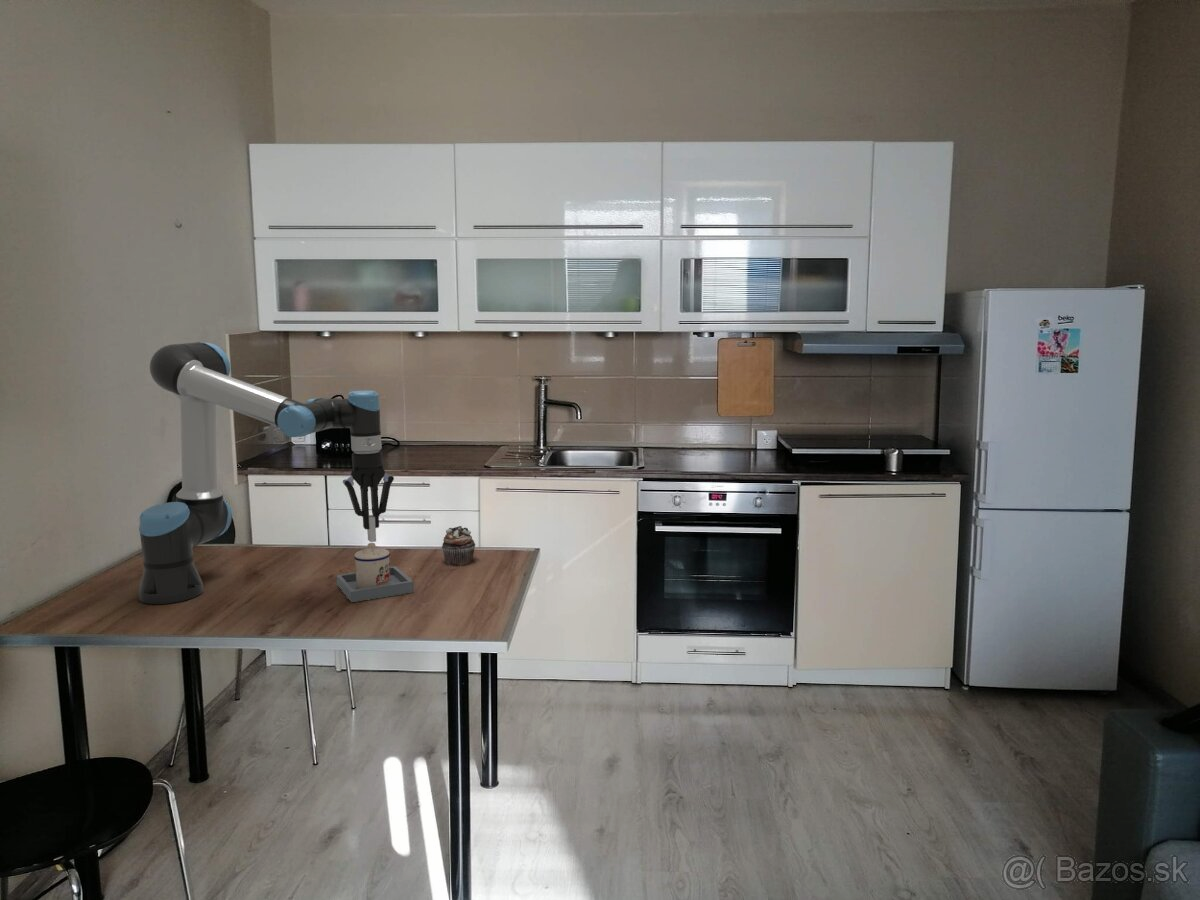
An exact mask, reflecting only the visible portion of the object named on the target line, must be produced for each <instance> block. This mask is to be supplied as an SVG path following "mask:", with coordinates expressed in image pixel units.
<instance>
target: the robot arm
mask: <svg viewBox="0 0 1200 900" xmlns="http://www.w3.org/2000/svg"><path fill="white" fill-rule="evenodd" d="M149 373H150V376H151V378H152V380H153V381H154V382H155V383H156V384H157V386H159V387H160V388H162V389H163V390H166V391H168V392H170V393H172V394H173V395H174V396H176V398H178V399H179V402H180V403H179V406H180V437H181V438H180V443H181V447H180V448H181V454H180V455H181V487H182V488H181V489H180V490H179V491H178V492H177V493H176V494H175V497H176V498H175V501H171V502H163V503H161V504H155V505H152V506H150V507H148V508H145V509H144V510H143V511H142V512H141V513H140V516H139V527H138V530H139V535H140V543H141V544H140V545H141V553H142V561H143V573H142V577H141V581H140V585H139V589H138V599H139V601H140V602H141V603H144V604H149V605H164V604H165V605H166V604H175V603H180V602H184V601H187V600H191V599H193V598H196V597H198V596H200V595H202V594H203V592H204V583H203V580H202V578H201V576H200V574H199V571H198V569H197V568H196V565H195V563H194V552H193V548H194V547H197V546H200V545H202V544H204V543H207V542H211V541H213V540H215V539H217V538H219V537H220V536H221V535H224V533H226V532H227V531H228V529H229V527H230V525H231V523H232V517H233V514H232V513H233V512H232V510H231V506H230V504H228V502H227V500H226V499H225V498H224V494H223V493H224V492H223V491H222V490H220V489H219V488H218V483H217V481H218V480H217V472H218V471H217V407H216V405H218V406H220V407H222V408H225V409H229V410H231V411H233V412H237V413H239V414H242V415H244V416H247V417H250V418H253V419H255V420H258V421H261V422H263V423H267V424H268V425H272V426H274V427H278V429H279V431H280V432H281V433H282V434H283V435H284V436H286V437H290V438H302V437H306V436H308V435H310V434H314V433H317V432H322V431H324V430H329V429H349V431H350V443H351V444H350V446H351V447H350V448H351V451H352V454H351V462H352V471H351V473H350V476H349V477H348V478H347V479H343V480H342V484H343V485H344V486H345V487H346V489H347V491H348V494H349V498H350V502H351V503H352V507H353V510H354V514H356V515H357V516H358V517H362V527H363V528H364V530H367V531H366V532H367V541H369V542H370V543H375V542H377V531H376V529H378V528H379V527H380V518H379V517H380V515H382V514H384V513H386V511H387V505H388V500H389V496H390V489H391V485H392V484H393V482H394V479H395V477H394V476H392V475H391V474H388V473H386V471H385V469H384V466H383V464H384V463H383V452H382V451H381V450H382V448H383V447H382V446H383V445H382V433H381V407H380V399H379V394H378V392H377V391H375V390H366V389H365V390H353V391H350V392H349V393H348V397H347V398H324V397H319V398H309V399H308V400H306V402H305V403H303V402H300V401H298V400H295V399H293V398H292V399H291V398H289V397H287V396H283V395H281V394H278V393H276V392H274V391H271V390H268V389H264V388H262V387H259V386H256V385H253V384H252V383H248V382H247V381H243V380H240V379H237V378H236V377H231V376H230V373H231V363H230V359H229V358H228V355H227V354H226V352H224V351H223V350H222V348H221V347H219V346H218V345H216V344H214V343H212V342H211V343H210V342H201V341H195V342H186V343H175V344H173V343H172V344H167V345H164V346H162V347H161V348H159V349H157V351H156V352H154V353H153V355H152V357H151V359H150V362H149ZM354 481H355V482H354ZM381 481H383V485H382V489H381V494H380V500H379V492H378V490H379V484H381ZM355 483H357V485H358V486H359V488H360V501H361V506H360V502H359V500H358V497H357V494H356V493H357V492H356V491H355V487H354V484H355ZM369 490H370V502H371V504H370V505H371V513H372V514H370V509H369Z"/></svg>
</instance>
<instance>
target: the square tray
mask: <svg viewBox="0 0 1200 900" xmlns="http://www.w3.org/2000/svg"><path fill="white" fill-rule="evenodd" d="M390 581H391V584H387V585H381V586H375V587H369V588H363V589H357V583H356V571H355V572H350V573H341V574H337V575H336V587H337V586H338V587H339V588H340V589H341V590H342V591H341V590H340V589H339V588H338V587H337V588H338V589H339V590H340V591H341V593H342V592H343V593H344V594H345V595H346V596H345V595H344V594H343V593H342V594H343V595H344V596H345V597H346V599H347V600H348V599H349V600H350V601H351V602H356V603H358V602H357V601H361V600H368V599H373V600H376V599H375V598H379V599H384V598H383V597H385V598H390V597H389V596H391V597H396V595H397V596H401V595H402V594H403V595H407V594H406V593H409V594H414V593H415V591H414V590H415V588H414V581H413V580H412V579H411V578H410V577H409V576H408V575H406V574H405V572H403V571H402V570H401V569H399V567H397V566H396V565H394V566H390ZM413 592H414V593H413ZM403 595H402V596H403ZM349 600H348V601H349ZM350 601H349V602H350ZM368 601H369V600H368ZM351 602H350V603H351Z"/></svg>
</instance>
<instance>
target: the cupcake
mask: <svg viewBox="0 0 1200 900" xmlns="http://www.w3.org/2000/svg"><path fill="white" fill-rule="evenodd" d="M445 533H446V534H445V536H444V537H443V543H442V544H441V549H442V553H443V557H444V561H445V563H446V565H449V564H450V566H465V565H464V564H466V565H469V564H471V563H472V561H473V562H474V556H475V555H474V553H475V548H476V543H475V541H474V539H473V537H472V535H471V533H472V531H471V530H469V529H468V527H462V525H460V526H456V527H449V528H448V529H445Z"/></svg>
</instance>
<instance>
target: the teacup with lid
mask: <svg viewBox="0 0 1200 900" xmlns="http://www.w3.org/2000/svg"><path fill="white" fill-rule="evenodd" d="M366 546H367V547H364V548H363V549H361V550H358V551H357V552H355V554H354V555H353V558H354V562H355V563H354V565H355V566H354V567H355V572H356V583H357V589H363V588H369V587H375V586H381V585H387V584H391V581H390V567H391V565H390V556H391V553H390V550H388V549H385V548H381V547H379V546H376V543H375V542H370V543H368V544H367V545H366Z"/></svg>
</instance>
